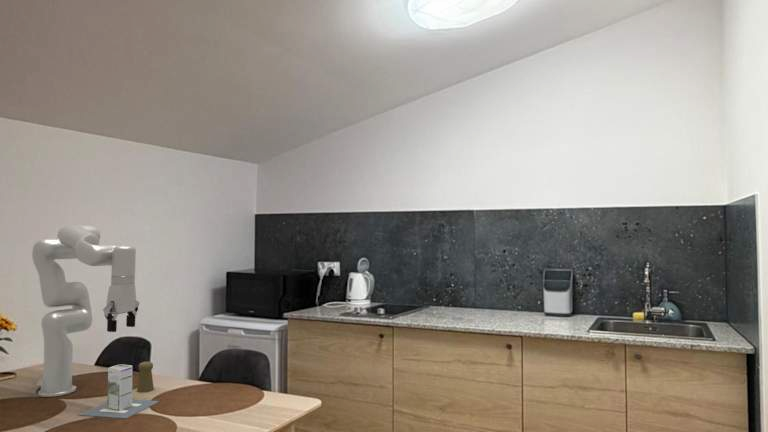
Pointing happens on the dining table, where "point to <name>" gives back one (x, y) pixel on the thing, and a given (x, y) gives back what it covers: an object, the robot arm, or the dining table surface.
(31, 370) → the dining table surface
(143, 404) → the letter sheet
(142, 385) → the cork
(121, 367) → the syrup box
